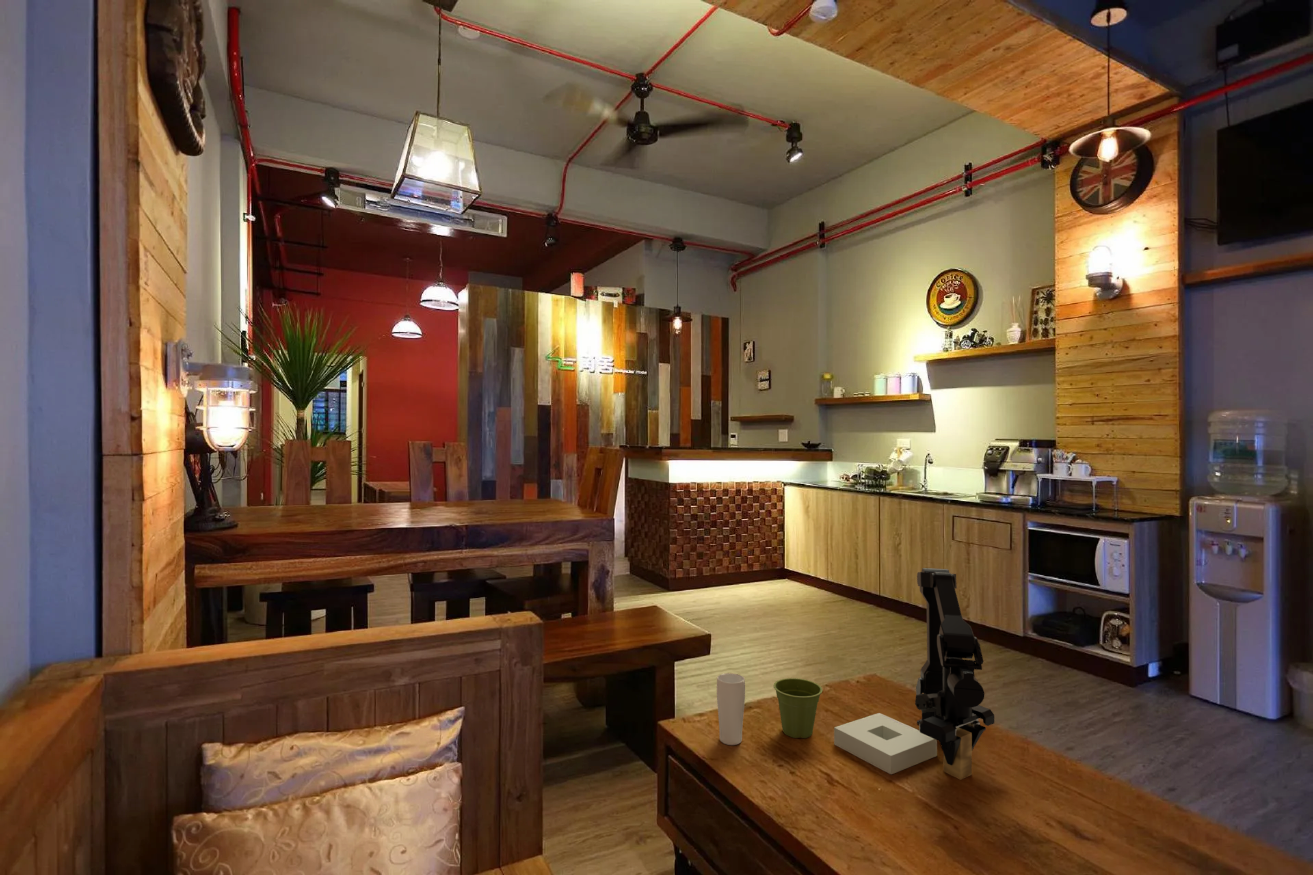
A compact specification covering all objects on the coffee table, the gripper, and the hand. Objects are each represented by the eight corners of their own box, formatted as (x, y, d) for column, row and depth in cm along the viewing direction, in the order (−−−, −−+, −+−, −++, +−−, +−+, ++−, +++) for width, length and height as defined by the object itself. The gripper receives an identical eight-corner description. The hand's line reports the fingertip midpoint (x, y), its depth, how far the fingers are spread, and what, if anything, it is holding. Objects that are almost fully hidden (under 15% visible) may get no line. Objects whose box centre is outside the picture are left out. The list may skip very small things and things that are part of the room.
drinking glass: (744, 735, 153) (744, 673, 154) (745, 748, 147) (745, 683, 147) (716, 733, 154) (716, 672, 154) (716, 746, 147) (716, 682, 148)
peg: (954, 766, 139) (954, 725, 139) (971, 774, 135) (971, 732, 136) (943, 771, 137) (943, 729, 137) (960, 779, 133) (960, 736, 133)
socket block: (879, 728, 157) (879, 712, 157) (936, 755, 144) (936, 738, 144) (834, 744, 149) (834, 727, 149) (890, 774, 135) (890, 755, 135)
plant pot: (768, 738, 152) (768, 691, 152) (778, 718, 163) (778, 675, 163) (818, 747, 147) (818, 699, 147) (825, 726, 158) (825, 682, 158)
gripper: (949, 669, 148) (949, 736, 148) (897, 684, 138) (897, 756, 138) (995, 684, 139) (995, 756, 138) (944, 702, 129) (944, 779, 129)
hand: (957, 761), depth 136 cm, fingers open, 5 cm apart
